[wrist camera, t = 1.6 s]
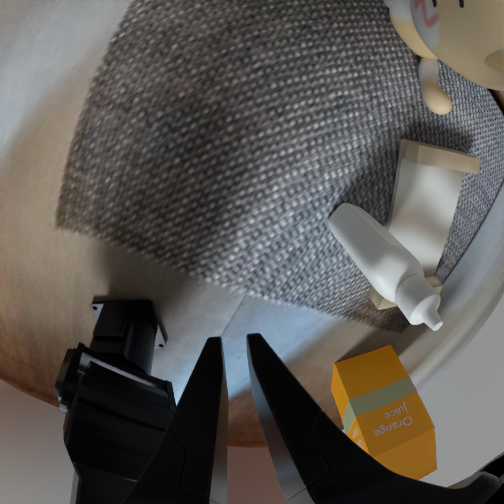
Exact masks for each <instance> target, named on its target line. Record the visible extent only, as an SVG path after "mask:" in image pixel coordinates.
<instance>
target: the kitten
mask: <svg viewBox="0 0 504 504" xmlns="http://www.w3.org/2000/svg"><path fill="white" fill-rule="evenodd" d="M383 3H384V5H385V6H386V7H388V8H389V14H390V19H391V22H392V25H393V27H394V28H395V30H396V31H397V33H398V34H399V36H400V37H401V38H402V40H403V41H404V42H405V43H406V45H407V46H408V47H409V48H410V49H411V50H412V51H413V52H414V53H416V54H417V55H419V56H421V57H422V58H421V60H420V63H419V68H418V75H419V80H420V85H421V92H422V97H423V100H424V102H425V104H426V105H427V107H428V108H429V109H430V110H431V111H433V112H434V113H436V114H439V115H444V114H447V113H449V112H450V111H451V109H452V102H451V99H450V98H449V96H448V95H447V94H446V93H445V92H444V91H443V90H442V89H441V88H440V87H439V85H438V74H439V67H438V62H437V60H438V59H440V60H441V61H442V62H443V63H445V64H446V65H447V66H449V67H450V68H451V69H453V70H454V71H456V72H457V73H459V74H460V75H462V76H463V77H465V78H466V79H468V80H470V81H472V82H474V83H476V84H478V85H480V86H483V87H486V88H490V89H495V90H502V91H504V0H383Z"/></svg>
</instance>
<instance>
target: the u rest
mask: <svg viewBox="0 0 504 504" xmlns="http://www.w3.org/2000/svg"><path fill="white" fill-rule="evenodd" d="M480 163H481V160H480V159H478V158H476V157H474V156H471V155H469V154H467V153H464V152H461V151H457V150H453V149H449V148H445V147H441V146H436V145H432V144H427V143H422V142H417V141H412V140H406V139H401V140H400V149H399V157H398V164H397V171H396V177H395V183H394V189H393V195H392V200H391V205H390V210H389V215H388V220H387V225H386V230H387V231H389V232H390V233H391V234H392V235H393V236H394V237H395V238H396V239H397V240H398V241H399V242H400V243H401V244H402V245H403V246H404V247H405V248H406V249H407V250H409V251H410V252H411V253H412V254H413V256H414V257H415V258H416V259H417V260H418V261H419V263H420V265H421V267H422V269H423V272H424V278H425V279H426V280H427V281H428V283H429V284H430V285H431V286H432V287H433V288H434V289H435V290H436V292H437V293H438V294H440V292H441V290H442V287H443V285H442V284H441V283H440V282H439V281H438V279H437V278H436V277H435V276H434V274H435V271H436V268H437V266H438V263H439V260H440V258H441V255H442V252H443V249H444V246H445V243H446V240H447V237H448V234H449V230H450V227H451V224H452V220H453V217H454V213H455V209H456V205H457V201H458V197H459V193H460V188H461V184H462V179H463V174H464V172H469V173H474V174H478V173H479V168H480ZM368 295H369V297H370V298H371V300H372V301H373V303H374V304H375V306H376V307H377V309H378V310H381V309H385V308H390V307H395V306H398V305H397V304H396V303H394V302H391V301H389V300H387V299H385V298H384V297H383V296H381V295H380V294H379V293H378V292H377V291H376V289H375V288H374V287H373V286H372V284H371V286H370V289H369V292H368Z"/></svg>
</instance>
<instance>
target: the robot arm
mask: <svg viewBox="0 0 504 504" xmlns="http://www.w3.org/2000/svg"><path fill="white" fill-rule="evenodd" d="M147 305H149V306H147ZM90 307H91V310H92V312H93V314H94V316H95V318H96V320H97V322H96V325H95V328H94V331H93V338H92V341H91V344H90V347H89V348H88V347H86V346H85V345H84V344H82V343H80V342H79V344H78V347H77V349H75V348H74V349H68V350H67V352H66V355H65V358H64V361H63V364H62V366H61V369H60V372H59V375H58V377H57V380H56V383H55V387H54V388H55V390H56V392H57V394H58V396H59V398H58V401H59V402H60V404H59V409H58V410H59V411H61V412H63V413H65V414H66V416H65V420H64V424H63V438H64V443H65V446H66V448H67V451H68V454H69V456H70V459H71V461H72V464H73V466H74V468H75V472H74V478H73V484H72V492H71V501H70V504H227V453H228V452H227V451H228V448H227V447H228V390H227V380H226V371H225V361H224V352H223V344H222V338H221V337H219V336H218V337H209V338H208V339H207V341H206V343H205V345H204V348H203V350H202V352H201V354H200V356H199V358H198V361H197V363H196V365H195V367H194V369H193V372H192V374H191V376H190V378H189V380H188V382H187V385H186V387H185V389H184V391H183V393H182V396H181V398H180V400H179V402H178V404H177V407H176V403H175V398H174V392H173V387H172V382H170V381H167V380H165V381H164V380H161V379H159V378H156V377H153V376H151V368H152V360H153V353H154V349H163V348H165V347H166V341H165V338H164V336H163V333H162V330H161V327H160V324H159V321H158V317H157V314H156V311H155V308H154V305H153V302H152V301H150V300H127V301H95V302H92V304H91V306H90ZM246 338H247V357H248V364H249V372H250V379H251V387H252V393H253V398H254V402H255V406H256V409H257V413H258V416H259V420H260V423H261V426H262V430H263V433H264V436H265V440H266V443H267V446H268V449H269V453H270V456H271V459H272V462H273V465H274V468H275V471H276V474H277V478H278V481H279V483H280V487H281V490H282V493H283V496H284V499H285V501H286V504H504V452H503V453H502V454H500V455H498V456H497V457H495V458H494V459H493V460H491V461H490V462H489V463H487V464H486V465H485V466H483V467H482V468H480V469H479V470H478V471H477V472H475V473H474V474H473V475H472V476H470V477H468V478H466V479H464V480H462V481H460V482H458V483H456V484H454V485H451V486H449V487H447V488H446V487H442V486H438V485H434V484H429V483H426V482H422V481H419V480H416V479H412V478H409V477H406V476H403V475H400V474H397V473H395V472H393V471H391V470H389V469H388V468H386V467H385V466H383V465H382V464H381V463H379V462H378V461H377V460H376V459H374V458H373V457H372V456H371V455H369V454H368V453H367V452H366V451H364V450H363V449H362V448H361V447H359V446H358V445H357V444H356V443H355V442H354V441H352V440H351V439H350V438H349V437H348V436H347V435H346V434H345V433H344V432H342V431H341V429H340V428H339V427H338V426H337V425H336V424H335V423H334V422H333V421H332V420H331V419H330V418H329V417H328V415H327V414H326V413H325V412H324V411H322V409H321V407H320V406H319V405H318V404H317V403H316V402H315V400H314V399H313V398H312V397H311V396H310V394H309V393H308V392H307V391H306V390H305V388H304V387H303V386H302V385H301V384H300V382H299V381H298V380H297V379H296V378H295V376H294V375H293V374H292V373H291V372H290V370H289V369H288V368H287V367H286V365H285V364H284V363H283V362H282V360H281V359H280V358H279V357H278V355H277V354H276V353H275V352H274V350H273V349H272V348H271V347H270V345H269V344H268V343H267V342H266V340H265V339H264V338H263V337H262V335H261V334H260V333H252V334H248V335H247V337H246Z"/></svg>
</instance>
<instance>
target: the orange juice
mask: <svg viewBox="0 0 504 504" xmlns="http://www.w3.org/2000/svg"><path fill="white" fill-rule="evenodd" d="M331 391H332V393H333V396H334V399H335V402H336V404H337V407H338V410H339V413H340V416H341V419H342V422H343V425H344V428H345V431H346V434H347V436H348V437H349V438H350V439H351V440H352V441H354V442H355V443H356V444H357V445H358V446H359V447H361V448H362V449H363V450H364V451H366V452H367V453H368V454H369V455H371V456H372V457H373V458H374V459H376V460H377V461H378V462H379V463H381V464H382V465H383V466H385V467H386V468H388V469H389V470H391V471H393V472H395V473H397V474H400V475H403V476H406V477H409V478H412V479H416V480H419V479H420V478H422V477H424V476H426V475H428V474H429V473H431V472H433V471H434V470H436V469H437V465H436V444H435V432H434V428H435V427H434V425H433V423H432V421H431V418H430V416H429V414H428V412H427V410H426V408H425V406H424V405H423V402H422V401H421V399H420V397H419V395H418V393H417V390H416V388H415V386H414V384H413V383H412V381H411V379H410V377H409V376H408V374H407V373H406V371H405V369H404V367H403V365H402V364H401V362H400V360H399V358H398V357H397V355H396V353H395V351H394V350H393V348H392V346H391V344H390V345H387V346H384V347H382V348H379V349H376V350H373V351H370V352H368V353H365V354H362V355H359V356H356V357H353V358H350V359H346V360H343V361H340V362H337V363H334V370H333V377H332V383H331Z"/></svg>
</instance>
